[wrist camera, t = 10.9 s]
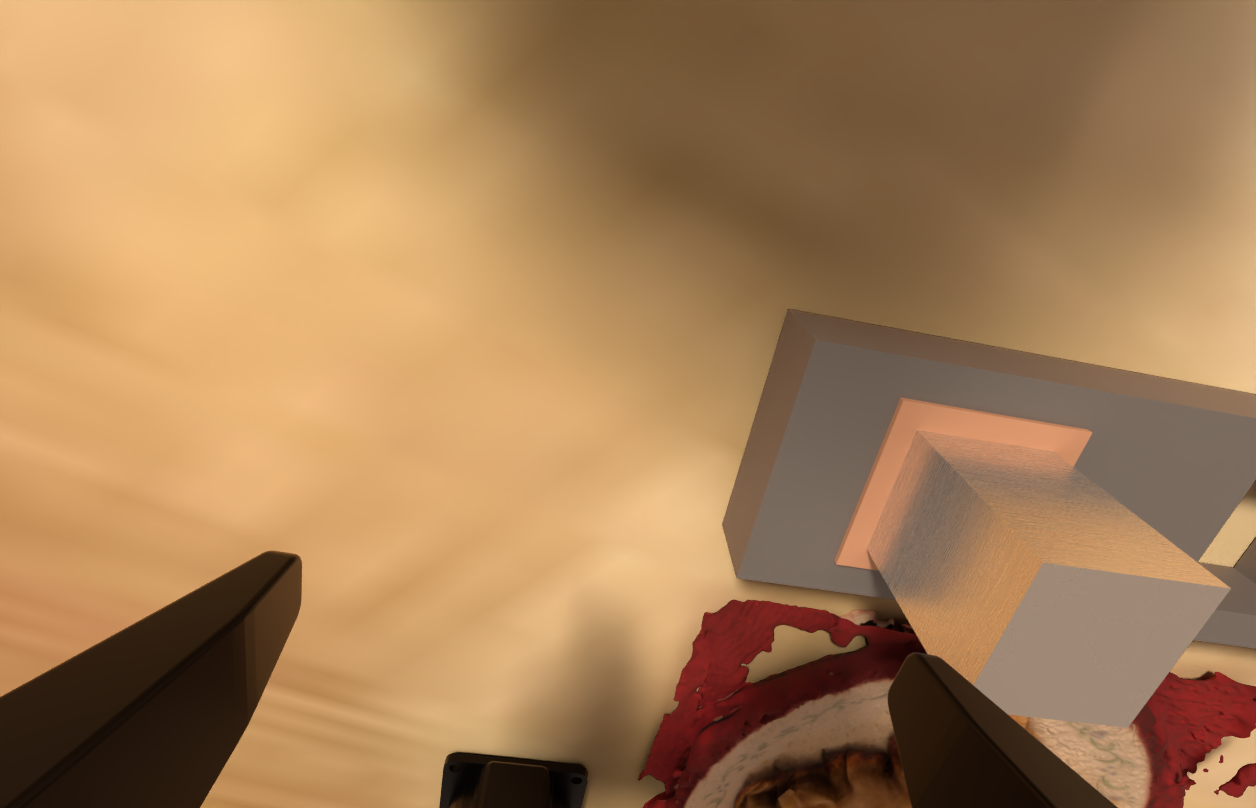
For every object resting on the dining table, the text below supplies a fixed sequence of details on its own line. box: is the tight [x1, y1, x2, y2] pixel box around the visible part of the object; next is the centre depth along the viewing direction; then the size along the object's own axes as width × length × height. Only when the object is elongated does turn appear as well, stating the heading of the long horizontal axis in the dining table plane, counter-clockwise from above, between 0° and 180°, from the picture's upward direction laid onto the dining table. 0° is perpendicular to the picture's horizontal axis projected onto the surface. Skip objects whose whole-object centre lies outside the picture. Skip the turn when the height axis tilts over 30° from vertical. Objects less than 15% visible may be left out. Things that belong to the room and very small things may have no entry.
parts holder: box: [722, 309, 1256, 649], centre depth 22 cm, size 8×24×3 cm, turn 79°
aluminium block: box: [867, 430, 1231, 728], centre depth 17 cm, size 4×4×6 cm
